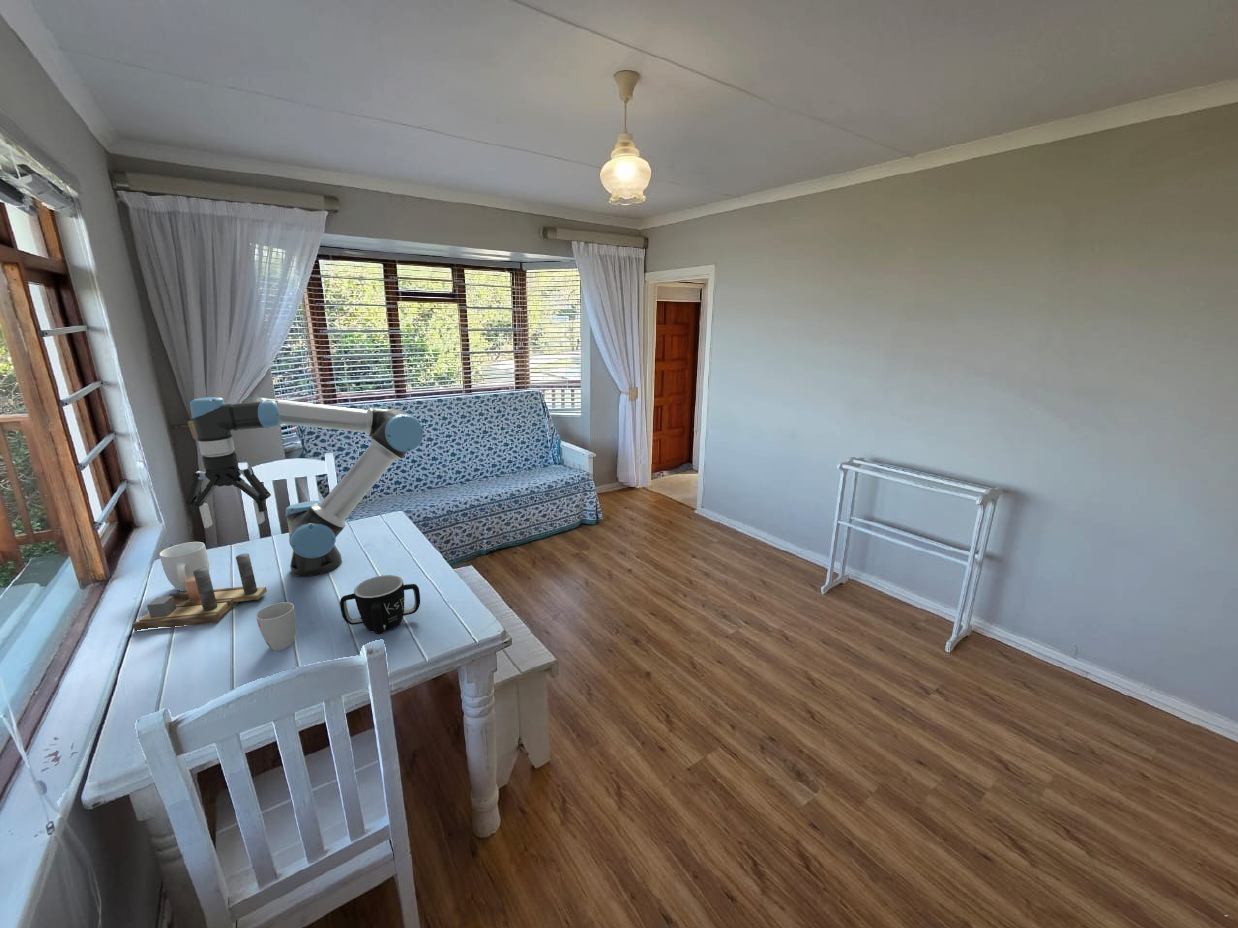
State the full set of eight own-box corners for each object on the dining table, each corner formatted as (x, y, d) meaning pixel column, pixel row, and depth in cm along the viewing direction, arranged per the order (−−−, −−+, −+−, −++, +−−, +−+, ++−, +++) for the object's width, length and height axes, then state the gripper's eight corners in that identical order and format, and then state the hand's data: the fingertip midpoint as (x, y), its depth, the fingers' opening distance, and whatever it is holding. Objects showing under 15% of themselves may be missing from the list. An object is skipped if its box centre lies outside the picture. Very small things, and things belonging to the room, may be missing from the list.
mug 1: (211, 593, 154) (201, 555, 151) (164, 604, 149) (152, 565, 145) (215, 574, 166) (206, 538, 163) (172, 583, 161) (162, 546, 157)
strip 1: (228, 606, 145) (217, 564, 142) (218, 615, 141) (207, 573, 137) (152, 614, 142) (139, 572, 138) (140, 624, 137) (126, 580, 133)
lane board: (246, 593, 154) (244, 586, 154) (218, 622, 139) (216, 614, 139) (172, 601, 150) (170, 593, 150) (134, 631, 135) (132, 623, 135)
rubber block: (176, 608, 142) (173, 595, 141) (167, 616, 138) (163, 603, 137) (160, 610, 141) (156, 597, 140) (150, 617, 137) (146, 605, 136)
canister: (213, 592, 150) (209, 574, 149) (204, 600, 146) (199, 582, 144) (195, 594, 150) (190, 576, 148) (185, 602, 145) (180, 583, 143)
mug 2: (374, 649, 127) (367, 607, 124) (339, 629, 136) (332, 590, 132) (428, 618, 141) (423, 580, 137) (393, 602, 149) (388, 566, 146)
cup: (275, 635, 133) (267, 602, 130) (306, 634, 134) (300, 601, 131) (256, 655, 125) (248, 620, 123) (290, 653, 126) (282, 618, 123)
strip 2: (266, 590, 154) (257, 551, 150) (259, 599, 149) (249, 558, 145) (196, 597, 150) (185, 557, 146) (186, 606, 145) (174, 565, 142)
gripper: (274, 447, 145) (288, 515, 150) (175, 452, 140) (193, 523, 145) (262, 454, 138) (277, 525, 143) (157, 459, 133) (177, 533, 138)
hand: (235, 524), depth 144 cm, fingers open, 13 cm apart
